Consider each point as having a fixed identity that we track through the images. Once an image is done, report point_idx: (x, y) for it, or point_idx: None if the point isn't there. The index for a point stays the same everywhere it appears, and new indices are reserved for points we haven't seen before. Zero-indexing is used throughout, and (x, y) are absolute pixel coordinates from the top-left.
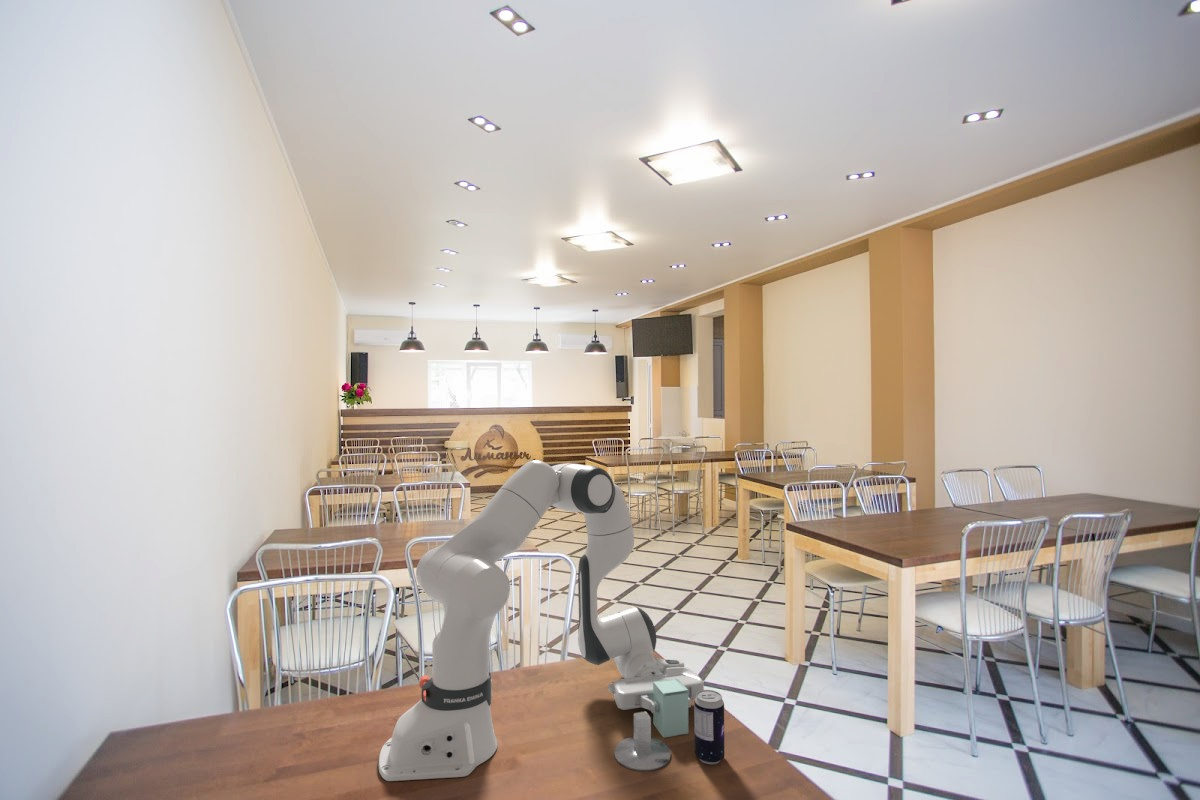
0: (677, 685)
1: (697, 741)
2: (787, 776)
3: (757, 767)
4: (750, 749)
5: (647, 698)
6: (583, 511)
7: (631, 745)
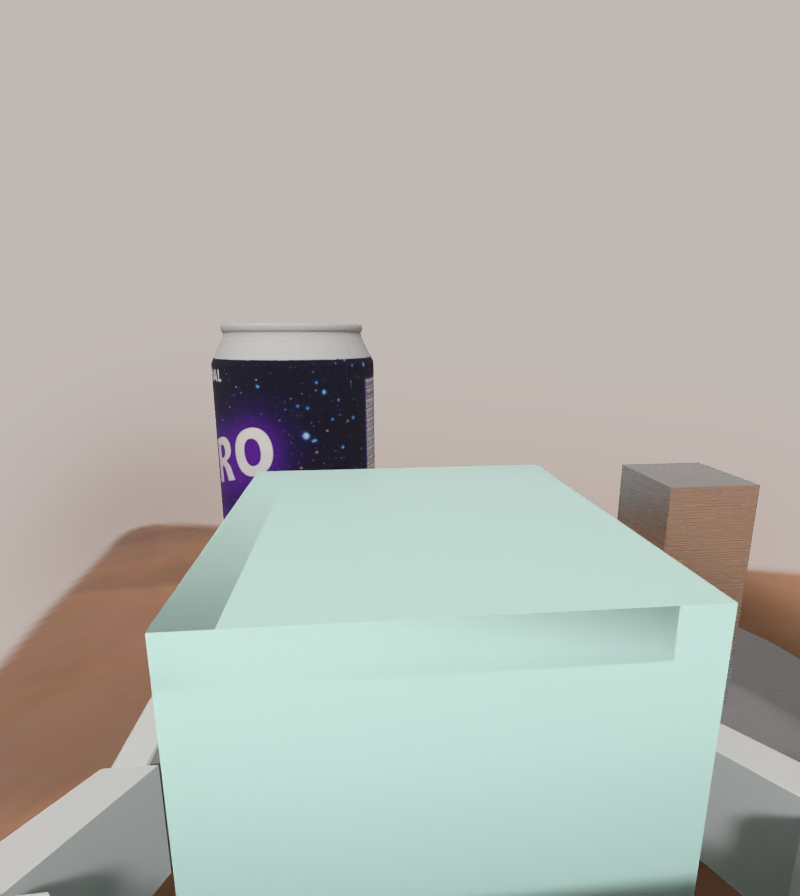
0: (317, 511)
1: None
2: (122, 547)
3: (167, 577)
4: (65, 646)
5: (779, 776)
6: None
7: (760, 735)
